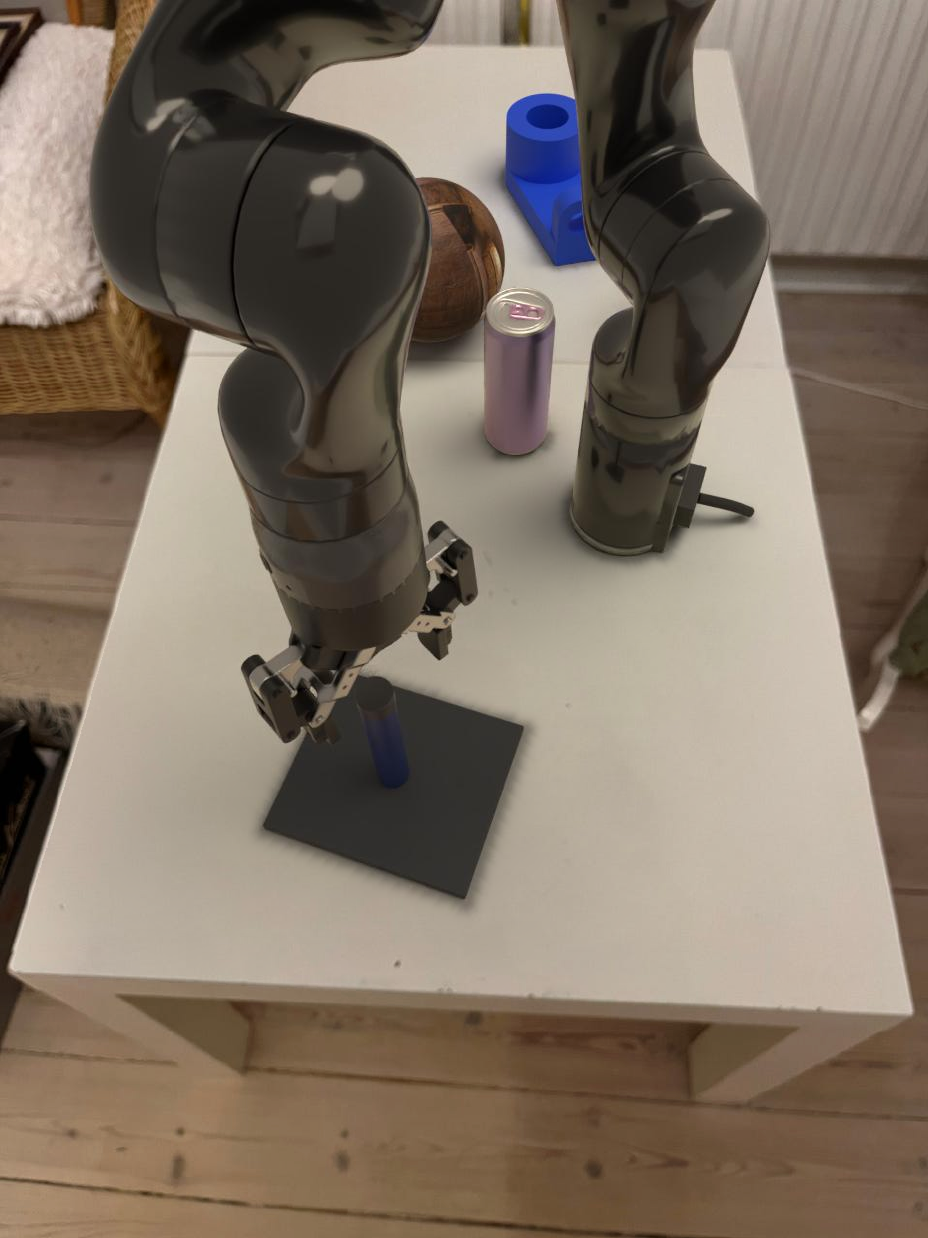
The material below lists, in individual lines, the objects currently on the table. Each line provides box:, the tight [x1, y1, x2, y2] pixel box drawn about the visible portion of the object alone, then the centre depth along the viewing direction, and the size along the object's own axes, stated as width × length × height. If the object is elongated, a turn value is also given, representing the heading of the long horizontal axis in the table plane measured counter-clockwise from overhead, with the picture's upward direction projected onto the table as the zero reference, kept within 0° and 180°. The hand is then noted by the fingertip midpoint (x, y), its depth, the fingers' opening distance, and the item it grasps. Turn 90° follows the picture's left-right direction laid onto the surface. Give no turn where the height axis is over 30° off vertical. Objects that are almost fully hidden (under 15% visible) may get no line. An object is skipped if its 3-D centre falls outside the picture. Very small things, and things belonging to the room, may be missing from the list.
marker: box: [355, 675, 409, 788], centre depth 64 cm, size 2×2×14 cm
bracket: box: [504, 92, 597, 267], centre depth 102 cm, size 20×9×8 cm, turn 11°
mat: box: [262, 670, 525, 899], centre depth 70 cm, size 16×14×1 cm
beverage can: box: [483, 286, 557, 456], centre depth 82 cm, size 6×6×15 cm
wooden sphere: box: [411, 176, 506, 343], centre depth 90 cm, size 15×15×15 cm
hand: (381, 688), depth 57 cm, fingers open, 8 cm apart
